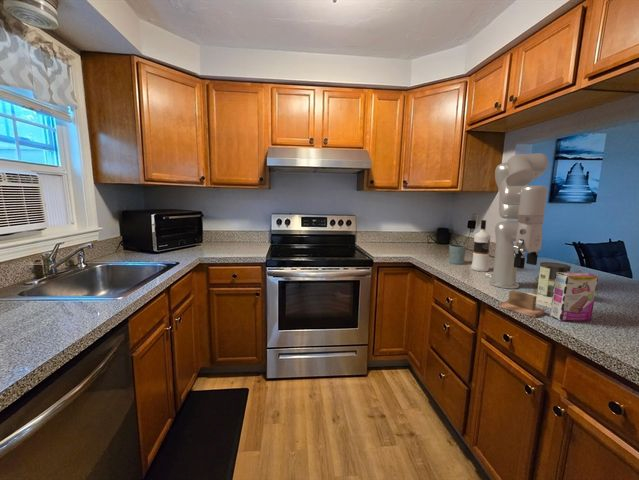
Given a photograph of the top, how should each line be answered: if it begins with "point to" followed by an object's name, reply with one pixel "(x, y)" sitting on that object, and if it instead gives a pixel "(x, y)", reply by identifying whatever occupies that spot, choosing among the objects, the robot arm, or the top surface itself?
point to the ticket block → (542, 300)
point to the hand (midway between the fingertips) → (525, 266)
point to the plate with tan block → (522, 304)
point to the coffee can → (549, 277)
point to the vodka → (481, 249)
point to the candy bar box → (573, 296)
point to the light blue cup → (457, 254)
